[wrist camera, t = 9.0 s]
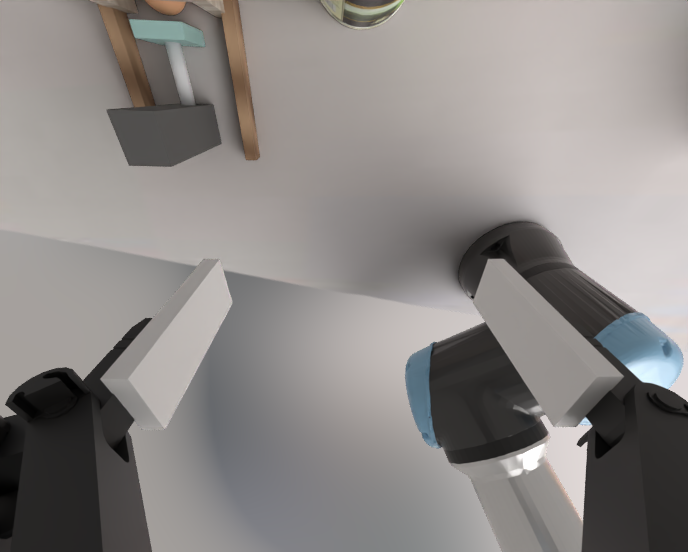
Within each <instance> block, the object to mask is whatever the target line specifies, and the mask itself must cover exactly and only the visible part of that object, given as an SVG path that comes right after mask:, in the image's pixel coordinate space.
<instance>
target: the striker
mask: <svg viewBox="0 0 688 552" xmlns="http://www.w3.org/2000/svg"><path fill="white" fill-rule="evenodd" d="M129 21H130V24H131V27H132V31H133V34H134V37H135V38H137V39H141V40H145V41H148V42H152V43H156V44H160V45H165V46H166V50H167V54H168V57H169V61H170V65H171V68H172V72H173V76H174V80H175V83H176V87H177V91H178V94H179V98H180V102H181V104H170V105H158V106H145V107H133V108H121V109H108V110H107V113H108V115H109V118H110V120H111V123H112V125H113V127H114V130H115V132H116V135H117V137H118V140H119V142H120V144H121V147H122V149H123V152H124V154H125V157H126V159H127V162H128V164H129V166H165V167H172V166H174V165H176V164H178V163H181V162H183V161H185V160H187V159H189V158H191V157H194V156H196V155H198V154H200V153H202V152H204V151H207V150H209V149H211V148H213V147H215V146H218V145H220V144H221V139H220V134H219V129H218V125H217V120H216V115H215V110H214V106H213V105H208V104H196V103H195V99H194V95H193V91H192V86H191V82H190V78H189V74H188V70H187V66H186V62H185V58H184V54H183V49H182V46H195V47H205V42H204V37H203V32H202V31H201V30H198V29H196V28H194V27H192V26H190V25H187V24H185V23H183V22H175V21H155V20H134V19H129Z"/></svg>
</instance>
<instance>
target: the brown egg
mask: <svg viewBox="0 0 688 552" xmlns="http://www.w3.org/2000/svg"><path fill="white" fill-rule="evenodd" d="M145 1H146V2H147V3H148V4H149V5H150V6H151V7H152V8H153V9H155V10H156V11H158V12H160V13H162V14H165V15H176V14H178V13H180V12H181V11H182V10H183V8H184V7H185V4H186V2H181V1H161V0H145Z"/></svg>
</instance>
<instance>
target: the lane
mask: <svg viewBox="0 0 688 552" xmlns="http://www.w3.org/2000/svg"><path fill="white" fill-rule="evenodd" d="M89 1H92V2H95V3H97V4H98V7H99V10H100V12H101V15H102V18H103V21H104V24H105V26H106V29H107V32H108V35H109V38H110V41H111V43H112V46H113V49H114V52H115V55H116V57H117V60H118V63H119V66H120V69H121V71H122V74H123V77H124V80H125V83H126V85H127V88H128V91H129V94H130V97H131V99H132V102H133V105H134V107H145V106H156V105H155V102H154V99H153V96H152V93H151V89H150V86H149V83H148V80H147V77H146V74H145V70H144V67H143V64H142V61H141V58H140V55H139V51H138V48H137V45H136V42H135V39H134V36H133V32H132V29H131V26H130V23H129V20H128V17H127V13H138V10H137V7H136V4H135V0H89ZM161 1H181V2H192V3H194V4H196V5H197V6H199V7H200V8H202V9H204V10H205V11H207V12H209V13H210V14H212V15H213V16H215V17H218V18H222V21H223V27H224V33H225V39H226V45H227V51H228V57H229V63H230V69H231V75H232V81H233V87H234V92H235V98H236V104H237V110H238V116H239V122H240V128H241V134H242V140H243V146H244V152H245V158H246V160H257V159H258V158H259V157H260V154H259V147H258V140H257V133H256V126H255V118H254V111H253V104H252V97H251V90H250V83H249V75H248V68H247V61H246V54H245V47H244V40H243V32H242V25H241V18H240V11H239V4H238V0H161Z"/></svg>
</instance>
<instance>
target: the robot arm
mask: <svg viewBox="0 0 688 552" xmlns="http://www.w3.org/2000/svg"><path fill="white" fill-rule="evenodd" d="M459 281H460V284H461V286H462V288H463V289H464V291H465V292H466V294H467V295H468V297H469V298H470V299H471V300H473V304H474V305H475V307H476V308H477V310H478V311H479V313H480V314H481V316H482V318H483V319H484V320H485V322H484V323H482V324H480V325H477V326H475V327H473V328H470V329H468V330H466V331H463V332H461V333H459V334H456V335H454V336H452V337H450V338H447V339H445V340H442V341H440V342H438V343H437V342H433V343H431V344H430V346H428V347H426V348H424V349H422V350H420V351H418V352H416V353H414V354H412V356H410V358H409V359H408V362H407V364H406V374H405V379H406V389H407V394H408V399H409V403H410V407H411V410H412V413H413V417H414V420H415V422H416V425H417V427H418V429H419V431H420V432H421V433H422V437H423V439H424V441H425V442H426V443H427V444H428V445H429V446H431V447H436V448H441V447H443V449H444V451H445V453H446V456H447V458H448V461H449V463H450V465H451V466H453V467H454V468H456V469H458V470H459V471H461V472H462V473H464V474H466V475H468V477H469V478H470V479H471V482H472V484H473V486H474V489H475V491H476V493H477V495H478V498H479V500H480V502H481V505H482V507H483V509H484V512H485V514H486V516H487V518H488V521H489V523H490V525H491V528H492V530H493V532H494V534H495V537H496V539H497V541H498V544H499V546H500V548H501V550H502V552H688V402H687V401H686V400H684V399H683V398H681V397H680V396H678V395H677V394H676V393H674V392H672V391H670V390H668V389H669V388H670V387H671V386H672V384H673V383H674V382H675V381H676V379H677V378H678V376H679V375H680V373H681V370H682V367H683V354H682V352H681V349H680V348H679V347H678V345H677V344H676V343H675V342H674V341H673V340H672V339H671V338H670V337H668V336H667V335H666V334H665V333H664V332H662V331H661V330H660V329H659V328H658V327H656V326H655V325H654V324H653V323H652V322H651V321H650V319H649V318H648V317H647V316H645V315H644V314H643V313H640V312H637V311H636V310H635V309H633V308H632V307H630V306H629V305H628V304H626V303H625V302H624V301H622V300H621V299H619V298H618V297H617V296H615V295H614V294H612V293H611V292H610V291H608V290H607V289H605V288H604V287H603V286H601V285H600V284H598V283H597V282H596V281H594V280H593V279H591V278H590V277H589V276H587V275H586V274H584V273H583V272H582V271H580V270H579V269H578V268H576V267H575V266H574V265H573V263H572V262H571V260H570V258H569V257H568V255H567V253H566V252H565V250H564V248H563V246H562V244H561V242H560V240H559V239H558V238H557V237H556V236H555V235H554V234H553V233H551V232H550V231H548V230H547V229H545V228H544V227H542V226H540V225H538V224H535V223H530V222H517V223H511V224H507V225H504V226H501V227H498V228H496V229H494V230H492V231H490V232H488V233H487V234H485V235H484V236H482V237H481V238H480V239H478V240H477V241H476V242H475V243H474V244H473V245H472V246H471V247H470V248H469V250H468V251H467V252H466V254H465V255H464V257H463V259H462V261H461V264H460V267H459ZM232 303H233V302H232V299H231V296H230V292H229V289H228V285H227V282H226V279H225V275H224V272H223V268H222V265H221V262H220V259H203V260H202V262H201V263H200V264H199V265H198V266H197V267H196V269H195V270H194V271H193V272H192V273H191V274H190V276H189V277H188V278H187V279H186V280H185V281H184V282H183V284H182V285H181V286H180V287H179V288H178V289H177V291H176V292H175V293H174V294H173V295H172V296H171V298H170V299H169V300H168V301H167V302H166V303H165V305H164V306H163V307H162V308H161V309H160V310H159V311H158V313H157V314H156V315H155V316H154V317H153V318H145V319H144V320H142V321H141V322H139V323H138V324H136V325H135V326H133V327H132V328H131V329H130V330H129V331H128V332H127V333H126V334H125V336H124V337H123V338H122V340H121V341H119V342H118V343H117V344H116V345H115V346H114V349H113V350H111V351H110V352H109V353H108V354H107V355H106V356H105V357H104V358H103V359H102V361H101V362H100V363H99V364H98V365H97V366H96V367H95V368H94V369H93V370H92V372H91V373H90V374H89V375H88V376H87V377H86V378H85V379H84V380H83V381H82V379H81V378H80V377H79V376H78V375H77V374H76V373H75V372H74V370H73V369H69V368H66V367H65V368H56V369H52V370H49V371H46V372H43V373H41V374H39V375H37V376H35V377H33V378H31V379H29V380H28V381H26V382H25V383H23V384H22V385H21V386H19V387H18V388H17V389H16V390H15V391H14V392H13V393H12V394H11V395H10V396H9V398H8V400H7V402H6V404H5V405H6V406H8V407H9V408H10V409H11V410H13V411H14V412H15V413H16V414H17V415H13V416H9V417H6V418H3V417H1V416H0V552H152V550H151V544H150V538H149V533H148V528H147V522H146V516H145V511H144V506H143V500H142V494H141V489H140V483H139V479H138V472H137V467H136V462H135V456H134V451H133V445H132V440H131V436H130V435H129V433H128V429H129V428H130V426H131V425H132V423H133V422H134V421H135V422H136V423H137V425H138V426H139V427H140V428H141V429H142V430H165V429H166V427H167V425H168V423H169V421H170V419H171V417H172V416H173V413H174V411H175V410H176V408H177V406H178V404H179V402H180V400H181V399H182V396H183V395H184V393H185V391H186V389H187V387H188V386H189V384H190V382H191V380H192V378H193V376H194V374H195V372H196V371H197V369H198V367H199V365H200V363H201V361H202V359H203V357H204V356H205V354H206V352H207V350H208V348H209V346H210V344H211V343H212V340H213V339H214V337H215V335H216V333H217V331H218V329H219V328H220V325H221V324H222V322H223V320H224V318H225V316H226V314H227V313H228V311H229V309H230V307H231V305H232ZM543 415H546V416H547V417H548V419H549V420H550V422H551V424H552V425H553V427H576V426H577V425H578V424H581V425H591V424H592V426H593V427H592V428H591V429H590V430H589V431H588V432H587V433H585V434H584V435H583V436H582V437H581V438H580V440H579V441H578V443H577V445H578V446H580V447H581V446H582V445H583V444H584V443H585V442H588V445H587V464H586V481H585V498H584V517H583V520H582V519H581V517H580V515H579V513H578V512H577V510H576V508H575V507H574V505H573V503H572V501H571V500H570V498H569V496H568V494H567V493H566V491H565V489H564V487H563V486H562V484H561V482H560V480H559V479H558V477H557V475H556V473H555V472H554V470H553V468H552V466H551V465H550V463H549V462H548V459H547V458H546V450H547V446H548V443H549V439H550V434H549V432H548V431H547V429H546V428H545V426H544V424H543V422H542V421H541V419H540V417H541V416H543Z"/></svg>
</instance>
